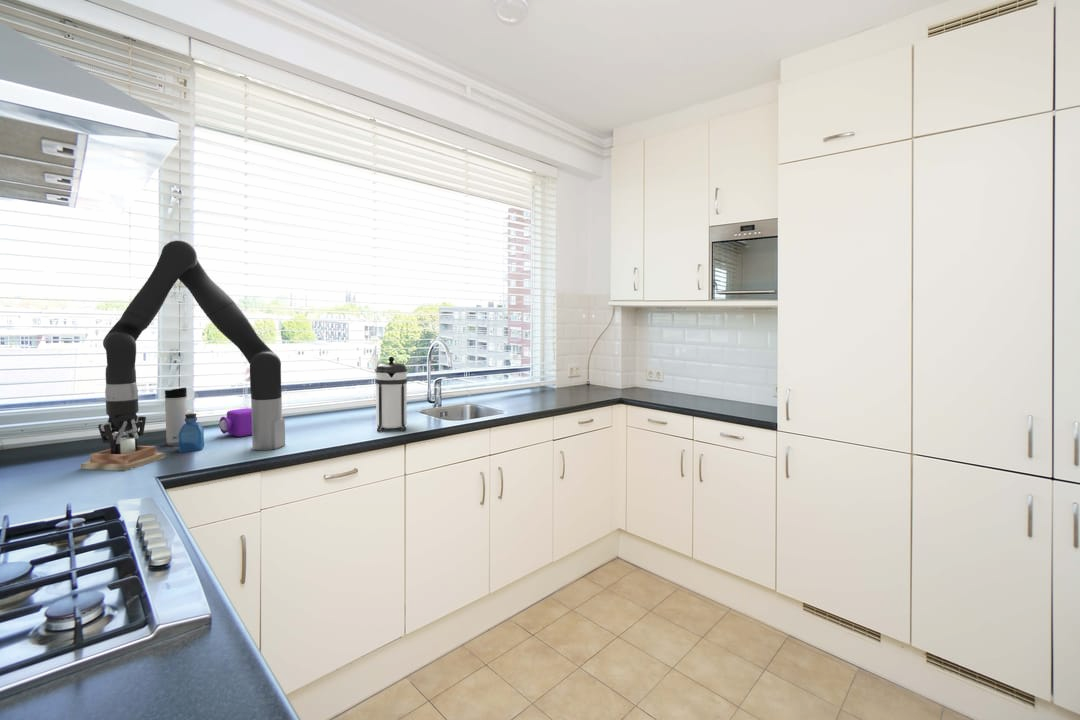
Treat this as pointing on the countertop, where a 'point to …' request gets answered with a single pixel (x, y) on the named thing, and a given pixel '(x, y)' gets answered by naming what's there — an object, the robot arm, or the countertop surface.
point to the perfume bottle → (191, 435)
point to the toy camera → (237, 422)
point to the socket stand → (122, 459)
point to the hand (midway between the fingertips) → (124, 453)
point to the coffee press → (391, 395)
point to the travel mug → (175, 414)
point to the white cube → (127, 445)
